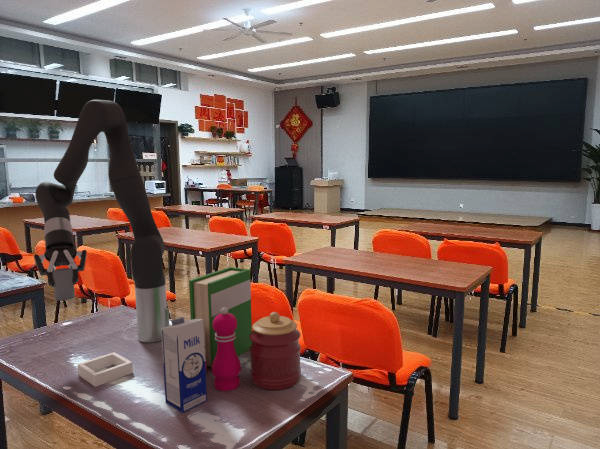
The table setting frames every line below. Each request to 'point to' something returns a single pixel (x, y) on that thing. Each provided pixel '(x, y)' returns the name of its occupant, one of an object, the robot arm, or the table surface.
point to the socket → (96, 379)
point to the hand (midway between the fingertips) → (64, 284)
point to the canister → (275, 353)
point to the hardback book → (223, 306)
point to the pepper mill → (225, 352)
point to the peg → (63, 284)
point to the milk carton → (184, 363)
